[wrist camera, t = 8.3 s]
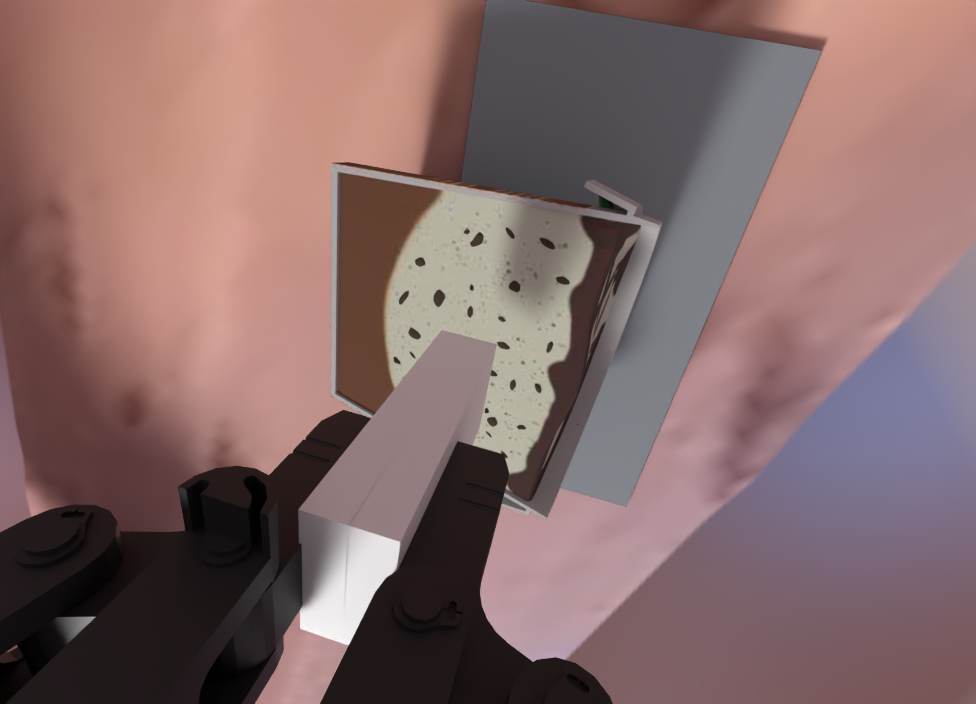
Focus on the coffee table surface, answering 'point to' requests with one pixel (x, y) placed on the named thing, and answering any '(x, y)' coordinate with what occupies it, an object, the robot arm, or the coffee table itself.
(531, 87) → the mat
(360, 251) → the food container
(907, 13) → the coffee table surface
